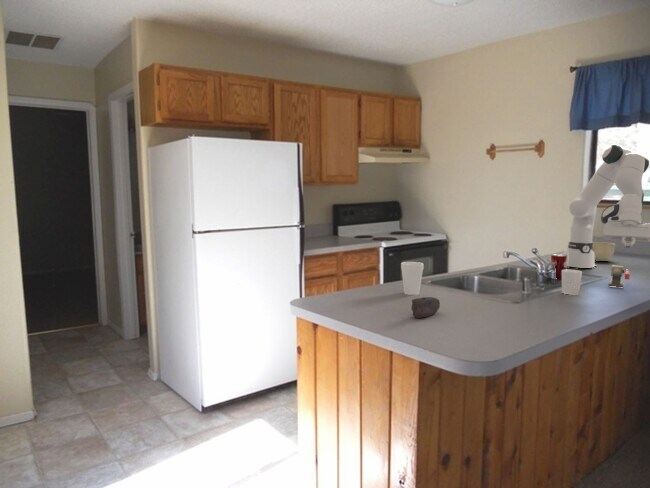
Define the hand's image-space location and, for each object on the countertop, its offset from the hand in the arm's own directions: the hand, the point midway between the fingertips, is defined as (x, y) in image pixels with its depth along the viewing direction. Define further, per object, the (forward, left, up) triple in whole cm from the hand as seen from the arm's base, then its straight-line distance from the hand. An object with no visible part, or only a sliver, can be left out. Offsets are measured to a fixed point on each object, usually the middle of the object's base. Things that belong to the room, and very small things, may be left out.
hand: (628, 246), depth 218 cm
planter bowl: (-82, +33, -20) cm, 91 cm away
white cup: (+8, -28, -20) cm, 35 cm away
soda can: (-26, -18, -20) cm, 37 cm away
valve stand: (-9, +1, -19) cm, 21 cm away
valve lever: (-8, +5, -12) cm, 16 cm away
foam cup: (+7, -96, -20) cm, 98 cm away
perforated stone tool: (+43, -97, -20) cm, 107 cm away
